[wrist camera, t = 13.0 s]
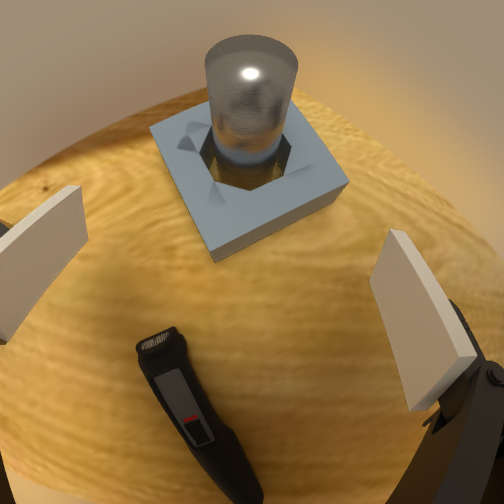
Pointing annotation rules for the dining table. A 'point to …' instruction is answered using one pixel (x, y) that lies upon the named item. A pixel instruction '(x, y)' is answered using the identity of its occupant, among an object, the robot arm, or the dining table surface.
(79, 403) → the dining table surface
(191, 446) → the electric trimmer
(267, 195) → the bore block
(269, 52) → the ball
